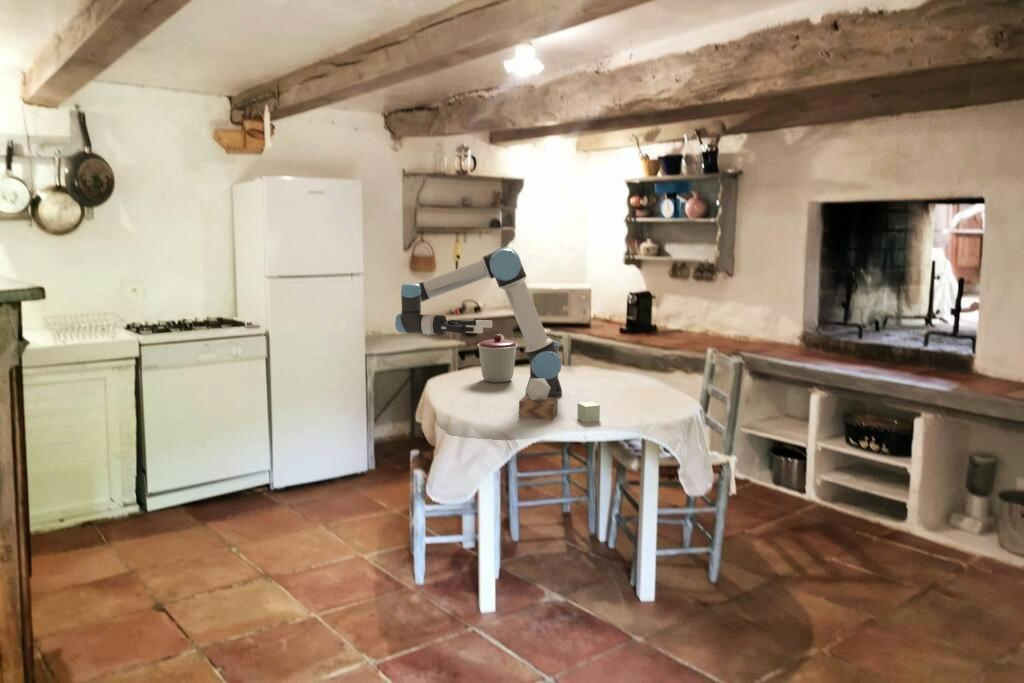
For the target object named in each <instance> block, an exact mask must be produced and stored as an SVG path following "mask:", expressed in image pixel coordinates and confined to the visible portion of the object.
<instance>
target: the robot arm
mask: <svg viewBox="0 0 1024 683" xmlns="http://www.w3.org/2000/svg"><path fill="white" fill-rule="evenodd" d="M521 261H522V260H521V258H520V256H519V254H518V252H516V251H515V250H514V249H513V248H511V247H507V246H506V247H505V246H504V247H503V246H502V247H500V248H497V249H496V250H495V251H493V252H490V253H489V254H486V255H484V256H482V257H481V258H480V260H477V261H475V262H472V263H469V264H467V265H464V266H461V267H459V268H455V269H453V270H451V271H448V272H446V273H443V274H439V275H436V276H434V277H431V278H430V279H427V280H423V281H422V282H419V283H415V282H414V283H411V282H409V283H407V282H406V283H403V284H402V285H401V287H400V288H401V289H400V290H401V291H400V295H401V312H400V313H398V314H397V315H396V316H395V320H394V321H395V322H394V324H395V329H396V331H397V332H399V333H403V334H423V335H424V334H425V335H427V336H429V335H440V336H441V335H445V334H446V333H447V332H451V333H456V334H462V335H463V336H464V335H466V333H468V334H483V332H484V328H487V329H488V328H489V329H491V328H492V329H493V320H487V319H486V320H484V319H483V320H481V319H479V320H478V319H477V317H474V319H471V318H469V319H449V320H447V317H446V316H445V315H443V314H439V315H438V314H436V315H435V314H422V311H421V310H422V308H421V307H422V305H421V304H422V303H423V302H425V301H428V300H431V299H433V298H435V297H438V296H440V295H441V296H442V295H445V294H447V293H450V292H452V291H455V290H458V289H460V288H464V287H466V286H469V285H472V284H474V283H477V282H479V281H482V280H485V279H490V280H492V279H494V278H495V281H496V284H497V287H498V288H499V289H501V290H503V291H504V293H505V295H506V297H507V300H508V303H509V305H510V307H511V310H512V312H513V315H514V317H515V319H516V322H517V324H518V327H519V329H520V332H521V334H522V336H523V337H522V338H524V340H525V343H526V349H525V353H526V356H527V358H528V361H529V379H528V382H527V385H526V388H525V390H526V389H527V386H528V384H529V381H530V379H531V378H545V380H546V381H547V383H548V385H549V386H550V388H551V389H550V391H549V394H548V396H547V397H553V398H558V399H559V398H560V397H562V396H563V389H562V386H561V383H560V379H559V374H560V372H561V369H562V365H563V363H562V362H563V361H562V359H561V357H560V355H559V354H560V353H559V349H560V346H559V342H558V341H557V340H553V339H551V338H549V337H548V335H547V333H546V330H545V328H544V326H543V323H542V320H541V318H540V316H539V313H538V310H537V309H536V306H535V304H534V301H533V299H532V296H531V294H530V292H529V289H528V287H527V284H526V282H525V281H526V279H527V274H526V272H525V269H524V266H523V263H522V262H521ZM525 396H529V395H528V394H527V392H526V391H525Z"/></svg>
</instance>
